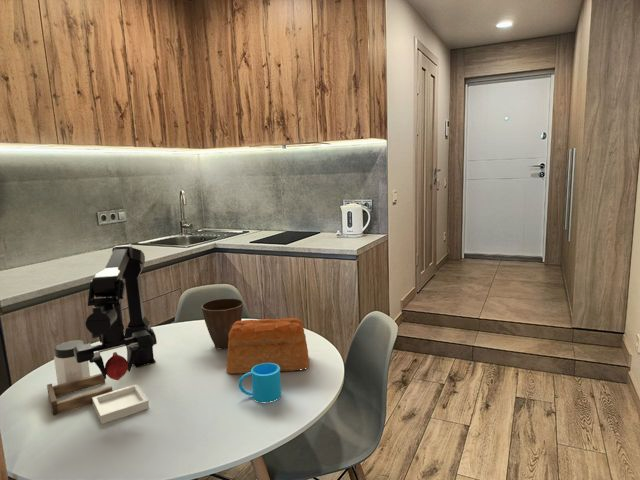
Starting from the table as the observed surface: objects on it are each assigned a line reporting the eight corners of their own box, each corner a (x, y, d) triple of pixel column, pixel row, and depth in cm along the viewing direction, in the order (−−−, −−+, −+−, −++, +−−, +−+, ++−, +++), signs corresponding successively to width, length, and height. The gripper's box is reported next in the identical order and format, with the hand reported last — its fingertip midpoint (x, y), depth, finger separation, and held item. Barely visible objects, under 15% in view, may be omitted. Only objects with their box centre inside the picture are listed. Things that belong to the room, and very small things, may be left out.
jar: (58, 390, 131) (53, 353, 129) (57, 380, 138) (52, 344, 136) (91, 382, 136) (87, 345, 134) (88, 372, 142) (84, 337, 141)
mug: (281, 388, 129) (280, 362, 127) (280, 402, 121) (279, 375, 119) (240, 390, 128) (239, 364, 127) (237, 405, 120) (235, 377, 119)
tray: (137, 391, 129) (136, 384, 129) (149, 408, 120) (148, 400, 119) (92, 405, 122) (92, 397, 122) (101, 424, 113) (100, 415, 112)
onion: (132, 379, 120) (130, 352, 118) (111, 387, 116) (108, 359, 114) (123, 373, 124) (121, 346, 122) (102, 380, 120) (99, 353, 118)
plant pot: (196, 348, 160) (192, 306, 157) (226, 335, 172) (223, 296, 169) (224, 357, 151) (221, 313, 149) (253, 342, 163) (251, 301, 161)
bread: (231, 357, 151) (228, 316, 149) (308, 354, 152) (306, 312, 150) (224, 376, 137) (221, 331, 135) (309, 372, 139) (307, 327, 136)
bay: (104, 381, 136) (103, 369, 135) (113, 397, 126) (111, 384, 125) (48, 397, 127) (46, 384, 126) (53, 415, 117) (51, 402, 116)
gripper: (139, 306, 129) (144, 355, 131) (67, 320, 118) (74, 374, 120) (150, 316, 120) (155, 368, 122) (73, 332, 109) (81, 390, 112)
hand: (117, 374), depth 119 cm, fingers closed on onion, 6 cm apart
